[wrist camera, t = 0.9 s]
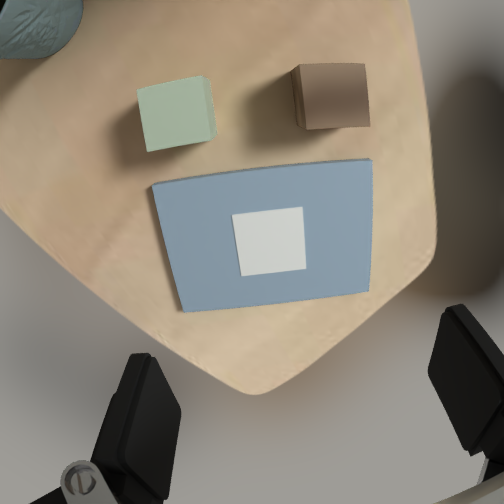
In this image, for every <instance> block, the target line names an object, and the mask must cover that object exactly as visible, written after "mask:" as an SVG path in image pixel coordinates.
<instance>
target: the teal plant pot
mask: <svg viewBox="0 0 504 504" xmlns="http://www.w3.org/2000/svg"><path fill="white" fill-rule="evenodd" d="M82 13H83V1H82V0H0V59H3V58H5V59H20V58H22V59H26V58H27V59H39V58H44V57H47V56H50V55H52V54H54V53H56V52H57V51H59V50H60V49H61V48H62V47H63V46H65V45H66V44H67V43H68V41H69V40H70V39H71V38H72V36H73V35H74V33H75V32H76V30H77V28H78V26H79V24H80V21H81V18H82Z"/></svg>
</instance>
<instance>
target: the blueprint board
mask: <svg viewBox="0 0 504 504" xmlns="http://www.w3.org/2000/svg"><path fill="white" fill-rule="evenodd" d="M152 189H153V194H154V198H155V203H156V207H157V212H158V216H159V220H160V225H161V229H162V233H163V237H164V241H165V245H166V249H167V253H168V257H169V261H170V265H171V268H172V272H173V276H174V280H175V283H176V287H177V291H178V294H179V298H180V301H181V305H182V308H183V312H196V311H208V310H219V309H230V308H240V307H250V306H259V305H268V304H277V303H286V302H294V301H302V300H310V299H318V298H326V297H333V296H340V295H347V294H354V293H361V292H368V291H369V283H370V267H371V248H372V217H373V172H372V160H370V159H369V158H367V159H350V160H335V161H321V162H309V163H298V164H288V165H278V166H269V167H260V168H251V169H243V170H235V171H228V172H220V173H213V174H206V175H200V176H193V177H187V178H181V179H175V180H169V181H163V182H157V183H154V184H153V185H152Z"/></svg>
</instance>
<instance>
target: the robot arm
mask: <svg viewBox="0 0 504 504" xmlns="http://www.w3.org/2000/svg"><path fill="white" fill-rule="evenodd" d="M428 376H429V378H430V380H431V382H432V384H433V386H434V388H435V390H436V392H437V394H438V396H439V398H440V400H441V402H442V404H443V406H444V408H445V410H446V412H447V414H448V416H449V419H450V421H451V423H452V425H453V427H454V429H455V432H456V434H457V436H458V438H459V440H460V443H461V445H462V447H463V448H464V450H466V451H468V452H469V454H470V456H473V455H475V454H477V453H479V452H481V451H483V452H484V454H485V456H486V457H485V461H484V464H483V467H482V470H481V474H480V476H479V479H478V482H477V485H476V486H474V487H472V488H470V489H467V490H465V491H463V492H461V493H459V494H456V495H454V496H452V497H449V498H447V499H444V500H442V501H440V502H437V503H434V504H504V355H503V354H502V352H501V351H500V349H499V348H498V347H497V345H496V344H495V343H494V342H493V340H492V339H491V338H490V336H489V335H488V334H487V332H486V331H485V330H484V329H483V327H482V326H481V325H480V324H479V322H478V321H477V320H476V319H475V317H474V316H473V315H472V314H471V312H470V311H469V310H468V309H467V308H466V307H465V306H464V305H463V304H458V305H454V306H450V307H447V308H446V309H445V312H444V313H442V315H441V319H440V324H439V328H438V332H437V336H436V340H435V344H434V348H433V352H432V355H431V359H430V363H429V366H428ZM180 420H181V408H180V406H179V404H178V402H177V400H176V398H175V396H174V394H173V392H172V390H171V388H170V386H169V384H168V382H167V380H166V378H165V376H164V374H163V372H162V370H161V368H160V366H159V364H158V362H157V360H156V358H155V357H151V355H150V354H149V353H136V354H131V356H130V357H129V359H128V362H127V365H126V367H125V370H124V373H123V375H122V378H121V381H120V383H119V386H118V389H117V391H116V393H115V394H113V396H112V398H111V401H110V404H109V406H108V409H107V412H106V415H105V418H104V421H103V424H102V426H101V429H100V432H99V436H98V438H97V442H96V444H95V448H94V451H93V454H92V457H91V460H90V462H89V461H85V460H81V461H76V462H73V463H71V464H70V465H68V466H67V467H66V469H65V470H64V471H63V473H62V476H61V481H60V484H61V486H60V487H59V488H57V489H55V490H54V491H52V492H50V493H48V494H46V495H44V496H43V497H41V498H39V499H37V500H35V501H34V502H32V503H30V504H163V501H164V500H167V499H168V497H169V491H170V483H171V477H172V470H173V464H174V457H175V450H176V444H177V438H178V432H179V426H180Z"/></svg>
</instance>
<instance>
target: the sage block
mask: <svg viewBox="0 0 504 504" xmlns="http://www.w3.org/2000/svg"><path fill="white" fill-rule="evenodd" d="M137 96H138V102H139V109H140V115H141V121H142V127H143V132H144V138H145V143H146V149H147V152H150V151H155V150H160V149H165V148H170V147H175V146H181V145H187V144H192V143H199V142H205V141H211V140H212V139H213V138H214V137H215V136H216V135H217V127H216V120H215V113H214V106H213V99H212V92H211V85H210V80H209V79H207V78H206V77H204V76H202V75H201V76H195V77H190V78H185V79H180V80H175V81H170V82H166V83H161V84H157V85H153V86H148V87H144V88H140V89H137Z"/></svg>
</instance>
